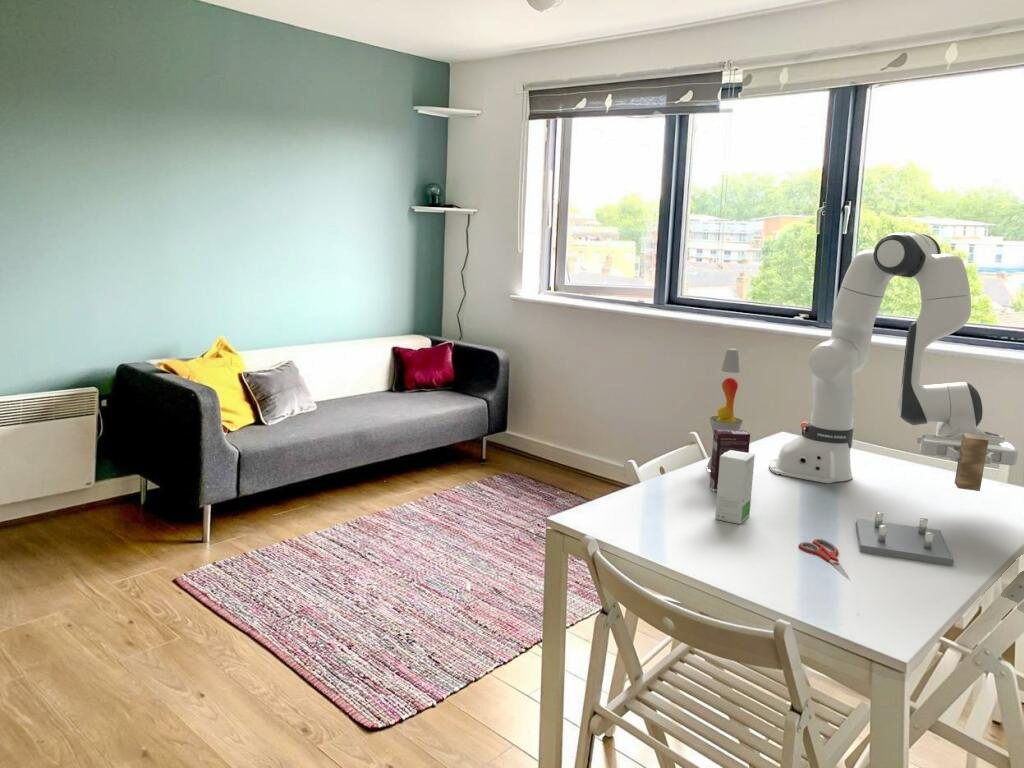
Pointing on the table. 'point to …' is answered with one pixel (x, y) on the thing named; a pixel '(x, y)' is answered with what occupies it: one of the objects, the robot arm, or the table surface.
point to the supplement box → (726, 449)
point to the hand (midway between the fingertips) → (972, 458)
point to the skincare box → (734, 486)
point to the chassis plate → (902, 542)
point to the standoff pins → (921, 531)
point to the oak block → (971, 462)
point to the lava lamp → (727, 397)
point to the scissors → (824, 553)
